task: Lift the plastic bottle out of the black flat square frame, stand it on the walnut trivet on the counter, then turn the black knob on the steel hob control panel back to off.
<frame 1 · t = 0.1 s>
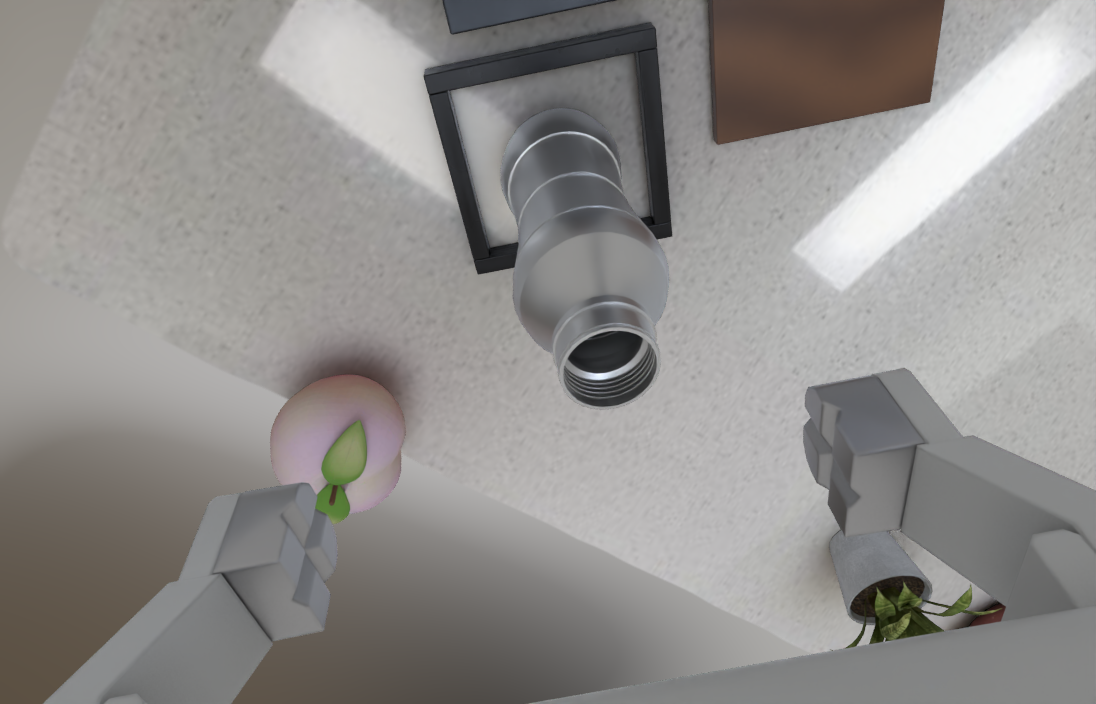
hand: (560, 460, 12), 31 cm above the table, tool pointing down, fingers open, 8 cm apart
black flat square frame: (556, 154, 41), on the table
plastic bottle: (556, 153, 41), resting in black flat square frame
decorative fruit: (349, 392, 50), on the table
pottery: (1016, 621, 76), on the table
trivet: (823, 6, 38), on the table
house plant: (871, 536, 65), on the table
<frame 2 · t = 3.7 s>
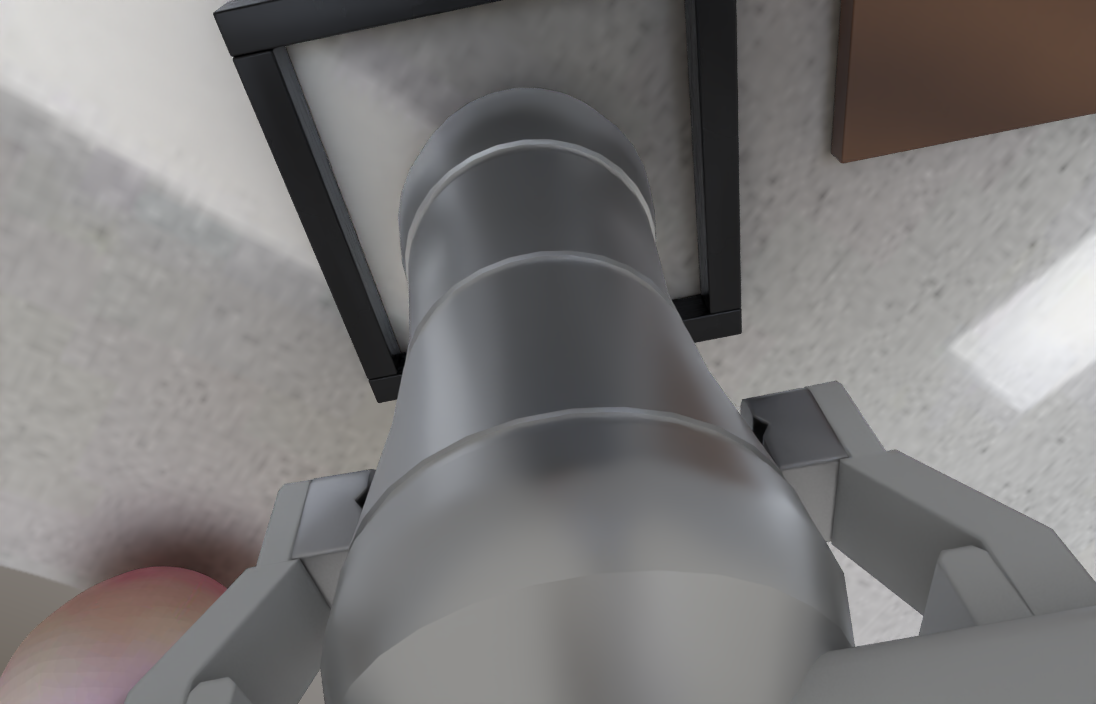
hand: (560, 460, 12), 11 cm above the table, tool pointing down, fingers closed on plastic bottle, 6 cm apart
black flat square frame: (519, 183, 21), on the table
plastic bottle: (521, 180, 21), resting in black flat square frame, touching gripper
decorative fruit: (183, 574, 30), on the table
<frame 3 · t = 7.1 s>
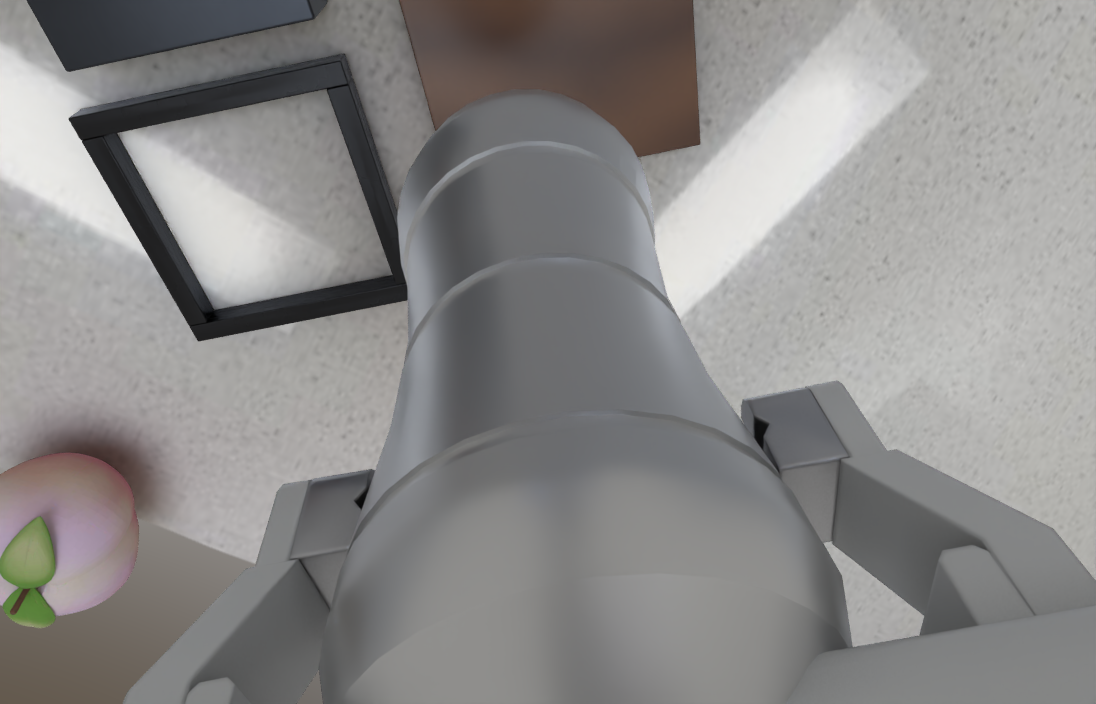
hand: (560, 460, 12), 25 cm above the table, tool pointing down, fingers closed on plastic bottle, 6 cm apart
black flat square frame: (267, 206, 35), on the table
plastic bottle: (520, 182, 21), point 14 cm above the table, touching gripper
decorative fruit: (92, 466, 44), on the table
trivet: (552, 34, 31), on the table
when the fingers open (12 cm above the table, at t = 10.7 s): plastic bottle stays where it is, resting on trivet.
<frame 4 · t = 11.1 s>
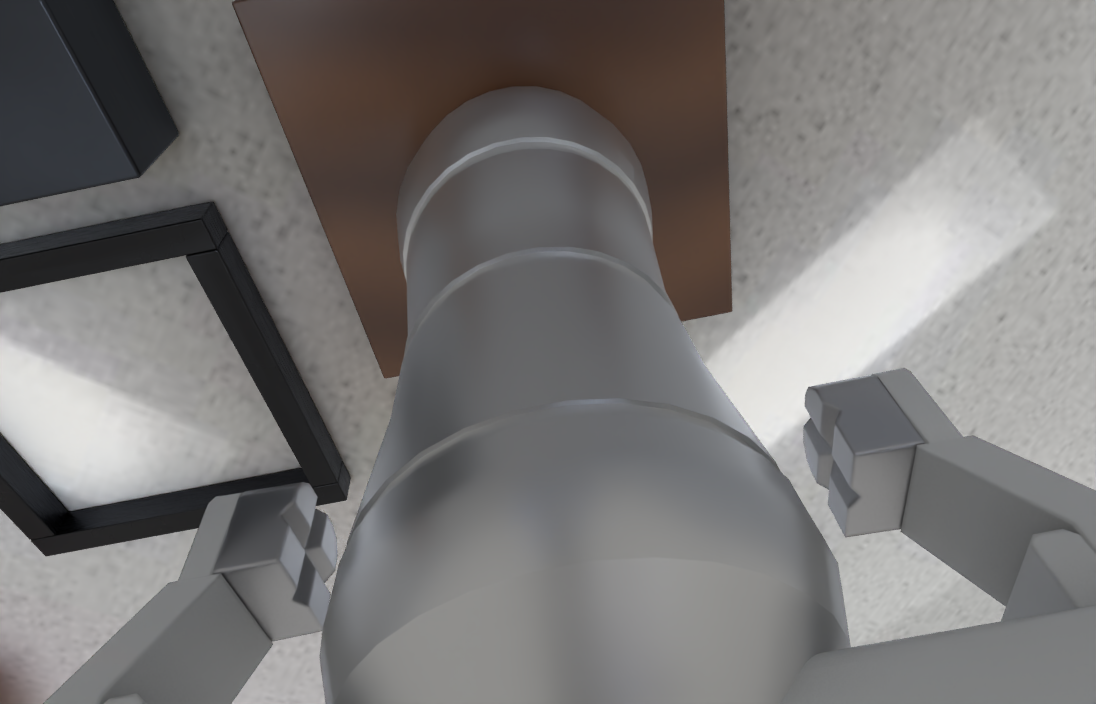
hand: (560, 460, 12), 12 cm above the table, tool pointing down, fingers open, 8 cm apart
black flat square frame: (125, 391, 25), on the table
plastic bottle: (518, 179, 21), point 1 cm above the table, touching trivet
trivet: (520, 171, 21), on the table
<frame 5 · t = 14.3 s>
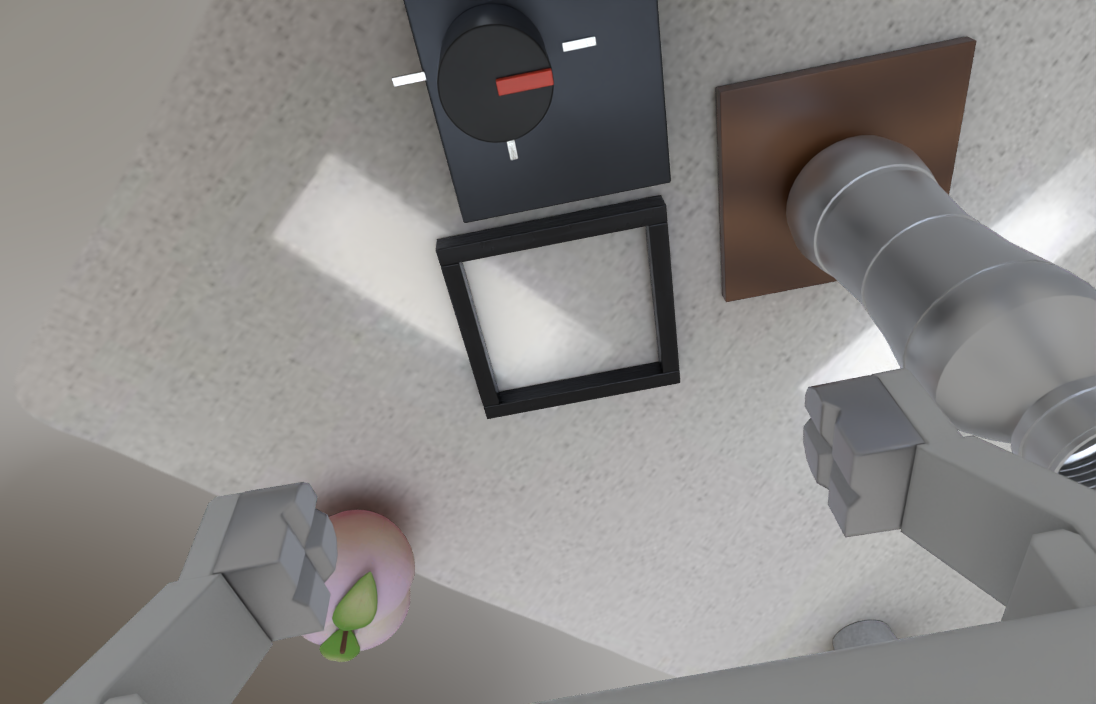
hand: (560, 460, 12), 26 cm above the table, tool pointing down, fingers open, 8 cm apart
black flat square frame: (566, 310, 41), on the table
knob: (494, 74, 28), point 5 cm above the table, hinge at 90.0°
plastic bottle: (835, 183, 37), point 1 cm above the table, touching trivet
decorative fruit: (358, 517, 51), on the table
trivet: (832, 178, 38), on the table
house plant: (875, 632, 65), on the table
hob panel: (543, 78, 34), on the table
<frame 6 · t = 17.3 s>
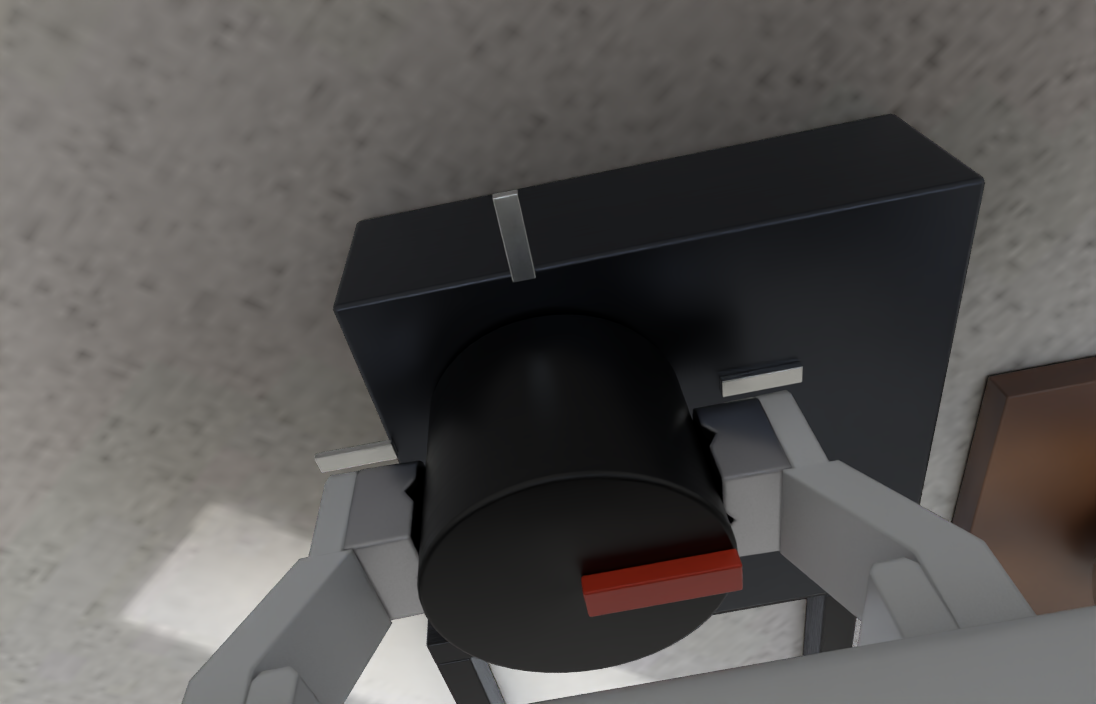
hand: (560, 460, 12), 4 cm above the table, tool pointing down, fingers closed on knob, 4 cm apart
black flat square frame: (653, 678, 24), on the table
knob: (567, 499, 11), point 5 cm above the table, hinge at 90.1°, touching gripper
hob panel: (646, 374, 16), on the table
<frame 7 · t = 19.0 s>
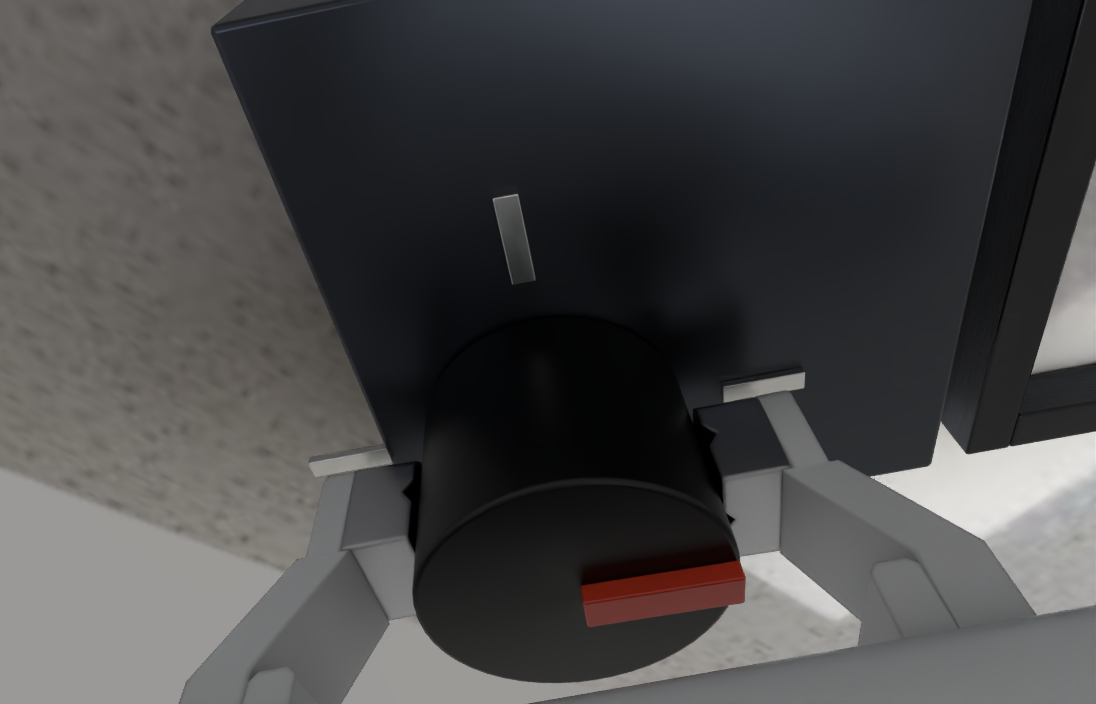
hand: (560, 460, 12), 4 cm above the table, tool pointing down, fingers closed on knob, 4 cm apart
knob: (566, 505, 11), point 5 cm above the table, hinge at -1.5°, touching gripper
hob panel: (627, 217, 14), on the table
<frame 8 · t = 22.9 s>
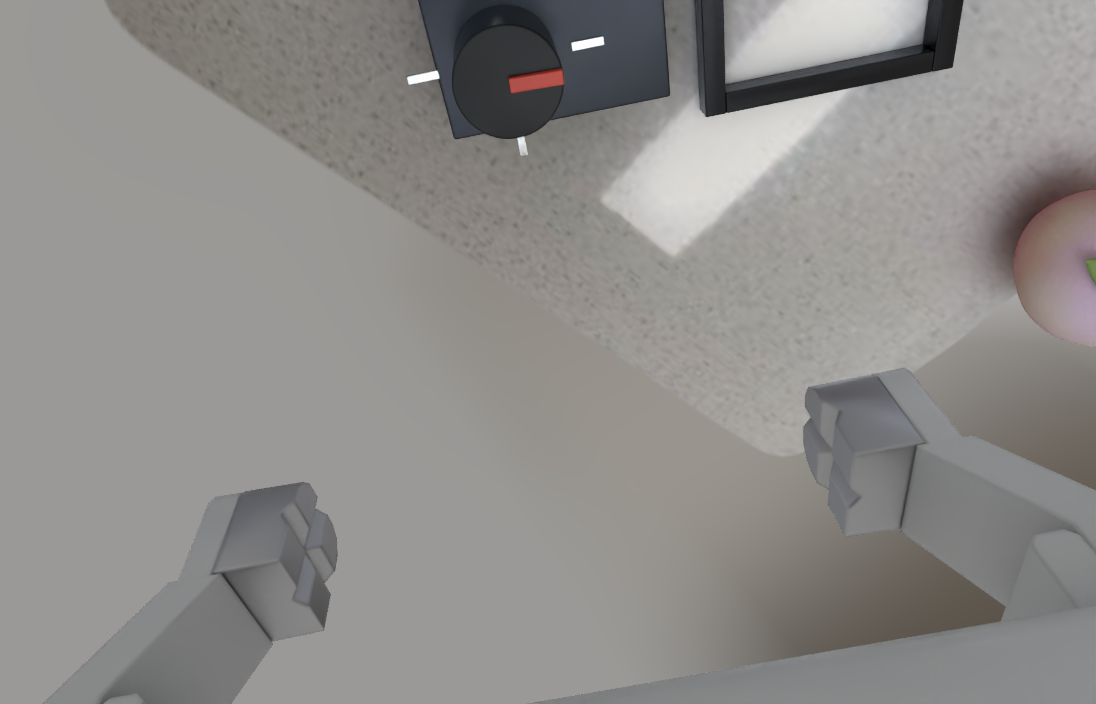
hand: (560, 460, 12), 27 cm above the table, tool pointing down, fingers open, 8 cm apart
knob: (506, 72, 29), point 5 cm above the table, hinge at -1.8°
decorative fruit: (1046, 225, 42), on the table
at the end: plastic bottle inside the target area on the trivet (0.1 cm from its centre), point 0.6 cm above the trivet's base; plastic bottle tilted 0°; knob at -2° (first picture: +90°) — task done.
